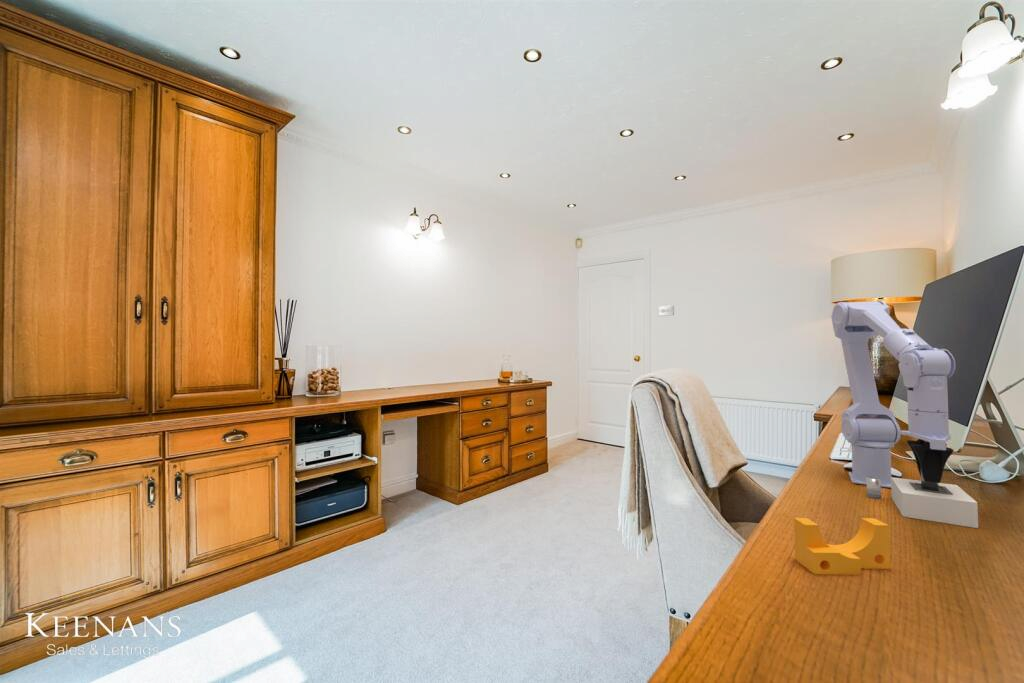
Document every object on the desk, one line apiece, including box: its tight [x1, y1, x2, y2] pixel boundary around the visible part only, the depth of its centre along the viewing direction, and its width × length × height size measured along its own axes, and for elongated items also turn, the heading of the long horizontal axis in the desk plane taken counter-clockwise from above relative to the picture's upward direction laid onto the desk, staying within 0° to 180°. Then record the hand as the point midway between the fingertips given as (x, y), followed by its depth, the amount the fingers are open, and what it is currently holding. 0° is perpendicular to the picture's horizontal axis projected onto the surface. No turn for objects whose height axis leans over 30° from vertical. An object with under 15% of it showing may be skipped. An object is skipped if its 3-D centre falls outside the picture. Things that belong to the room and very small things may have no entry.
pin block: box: [890, 476, 979, 529], centre depth 83 cm, size 12×10×5 cm
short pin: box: [866, 477, 882, 500], centre depth 92 cm, size 2×2×4 cm
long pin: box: [920, 472, 939, 491], centre depth 84 cm, size 2×2×6 cm
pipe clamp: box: [793, 517, 891, 576], centre depth 63 cm, size 12×4×6 cm, turn 88°
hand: (929, 479), depth 84 cm, fingers closed on long pin, 2 cm apart
